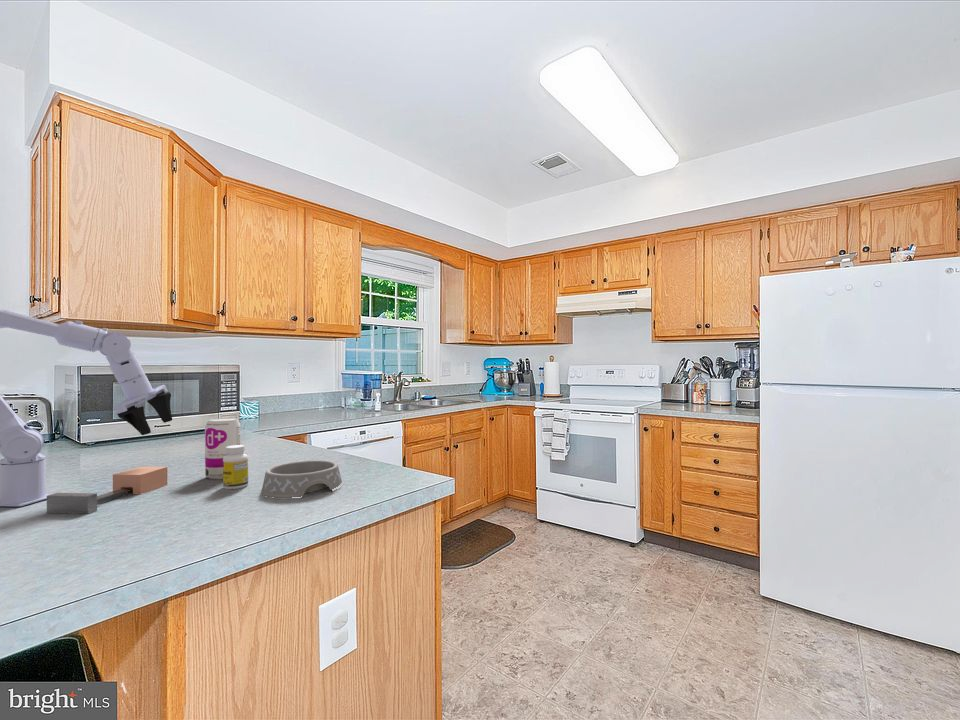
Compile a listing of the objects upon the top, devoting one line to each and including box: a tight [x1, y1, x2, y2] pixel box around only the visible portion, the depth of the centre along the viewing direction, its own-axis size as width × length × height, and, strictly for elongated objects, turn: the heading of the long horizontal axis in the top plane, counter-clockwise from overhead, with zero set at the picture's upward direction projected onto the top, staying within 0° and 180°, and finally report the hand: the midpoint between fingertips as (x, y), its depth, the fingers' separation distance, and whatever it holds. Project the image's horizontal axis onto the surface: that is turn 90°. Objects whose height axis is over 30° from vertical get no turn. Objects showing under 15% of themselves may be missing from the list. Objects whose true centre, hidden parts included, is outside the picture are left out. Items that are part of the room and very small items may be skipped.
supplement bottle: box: [222, 444, 249, 490], centre depth 111 cm, size 5×5×10 cm
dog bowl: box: [260, 459, 343, 499], centre depth 109 cm, size 17×18×5 cm
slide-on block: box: [112, 466, 169, 495], centre depth 110 cm, size 7×8×4 cm
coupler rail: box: [46, 490, 129, 515], centre depth 99 cm, size 9×13×4 cm
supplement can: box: [204, 417, 242, 480], centre depth 122 cm, size 8×8×15 cm
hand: (157, 427), depth 117 cm, fingers open, 7 cm apart
